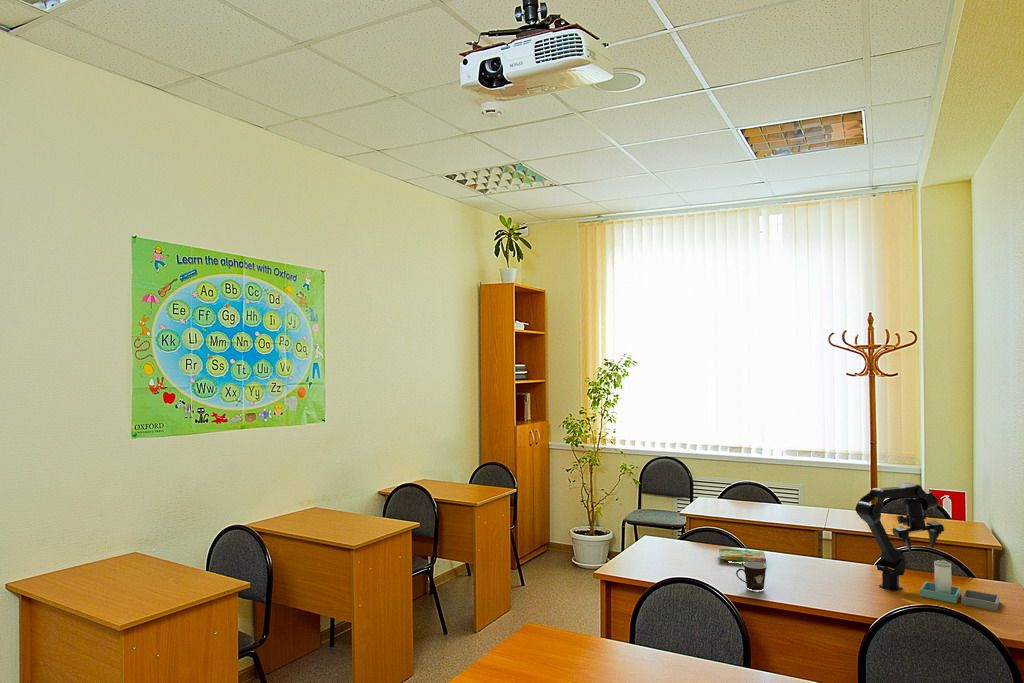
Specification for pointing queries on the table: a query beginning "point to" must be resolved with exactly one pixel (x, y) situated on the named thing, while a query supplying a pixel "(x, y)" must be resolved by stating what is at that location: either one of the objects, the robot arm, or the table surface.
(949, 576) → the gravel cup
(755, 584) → the coffee mug
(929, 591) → the bin
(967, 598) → the bin
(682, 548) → the table surface
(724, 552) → the puzzle game
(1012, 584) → the table surface
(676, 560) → the table surface
